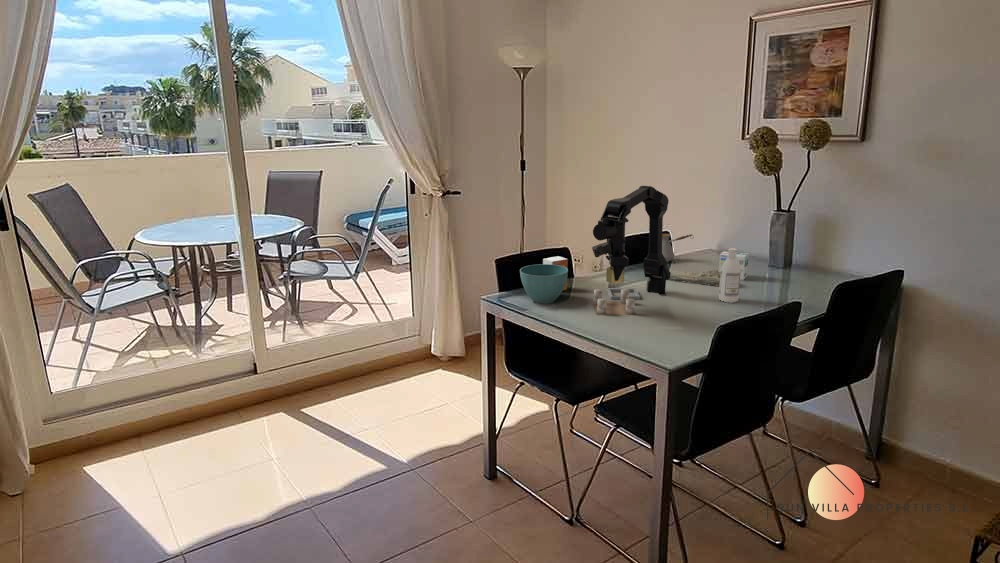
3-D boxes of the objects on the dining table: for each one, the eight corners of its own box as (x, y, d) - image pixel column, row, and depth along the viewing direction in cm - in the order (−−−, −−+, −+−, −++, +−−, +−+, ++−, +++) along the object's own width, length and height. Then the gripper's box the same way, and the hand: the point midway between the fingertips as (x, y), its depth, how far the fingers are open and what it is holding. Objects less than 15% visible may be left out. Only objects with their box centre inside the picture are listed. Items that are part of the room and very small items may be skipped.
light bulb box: (747, 277, 267) (749, 253, 264) (743, 281, 262) (746, 256, 259) (721, 274, 273) (723, 250, 270) (717, 278, 267) (719, 253, 264)
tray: (635, 293, 246) (635, 288, 246) (640, 301, 236) (640, 296, 235) (607, 293, 247) (607, 288, 246) (610, 301, 236) (611, 296, 236)
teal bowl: (533, 310, 227) (533, 277, 224) (512, 297, 243) (512, 267, 240) (576, 303, 234) (576, 272, 231) (553, 291, 250) (553, 262, 247)
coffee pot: (644, 260, 299) (646, 230, 295) (658, 257, 306) (660, 227, 302) (683, 268, 284) (686, 236, 280) (697, 264, 291) (699, 232, 287)
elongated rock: (658, 276, 277) (650, 283, 269) (658, 265, 275) (650, 271, 267) (740, 282, 258) (735, 290, 250) (741, 270, 257) (735, 277, 249)
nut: (622, 279, 227) (623, 265, 225) (625, 283, 221) (625, 269, 220) (605, 279, 227) (605, 265, 226) (607, 283, 222) (607, 269, 220)
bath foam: (742, 301, 234) (746, 249, 229) (728, 304, 231) (732, 251, 226) (728, 296, 240) (732, 246, 235) (714, 299, 237) (718, 248, 232)
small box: (551, 293, 248) (552, 261, 245) (542, 289, 253) (542, 258, 250) (567, 289, 253) (568, 258, 249) (557, 286, 258) (558, 255, 254)
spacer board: (629, 303, 234) (629, 288, 232) (636, 317, 218) (637, 301, 217) (591, 303, 234) (592, 288, 233) (596, 317, 219) (596, 301, 217)
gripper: (591, 231, 229) (590, 272, 233) (596, 241, 211) (595, 285, 215) (621, 230, 229) (620, 271, 233) (629, 241, 211) (628, 285, 215)
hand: (615, 278), depth 224 cm, fingers closed on nut, 5 cm apart
